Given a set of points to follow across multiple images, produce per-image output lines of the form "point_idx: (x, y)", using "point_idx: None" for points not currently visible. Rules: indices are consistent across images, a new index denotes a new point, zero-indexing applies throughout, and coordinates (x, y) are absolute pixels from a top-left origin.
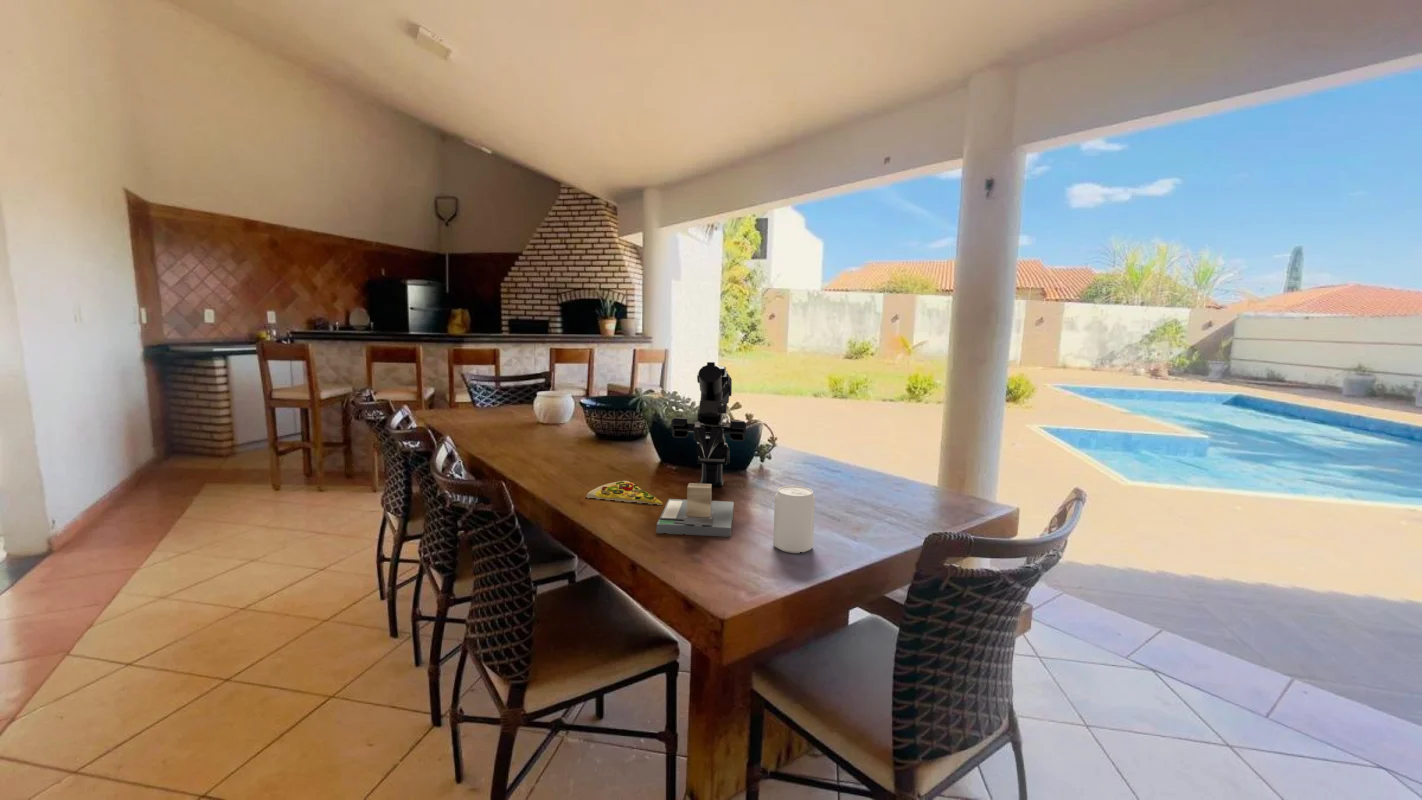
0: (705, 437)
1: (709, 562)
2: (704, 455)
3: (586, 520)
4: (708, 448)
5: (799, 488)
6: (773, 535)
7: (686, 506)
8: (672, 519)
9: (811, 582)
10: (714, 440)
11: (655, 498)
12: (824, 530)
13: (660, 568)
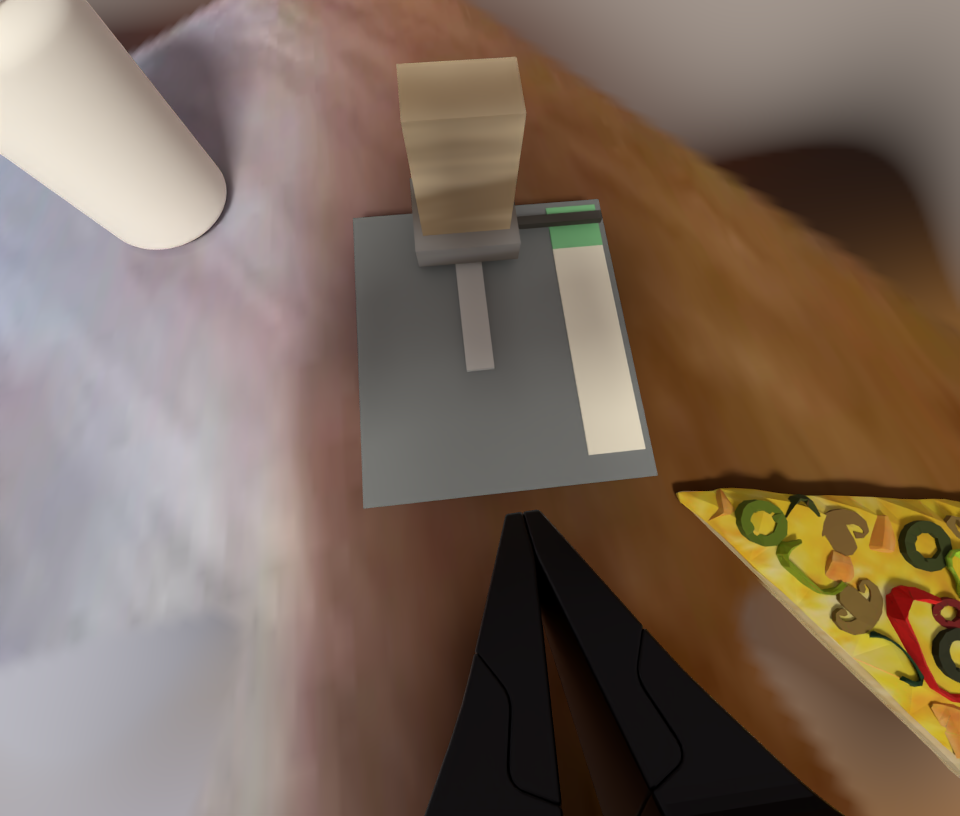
0: (658, 789)
1: None
2: (546, 518)
3: (844, 274)
4: (524, 586)
5: None
6: (209, 172)
7: (554, 394)
8: (555, 214)
9: (160, 39)
10: (450, 745)
11: (724, 507)
12: (34, 358)
13: (506, 42)
